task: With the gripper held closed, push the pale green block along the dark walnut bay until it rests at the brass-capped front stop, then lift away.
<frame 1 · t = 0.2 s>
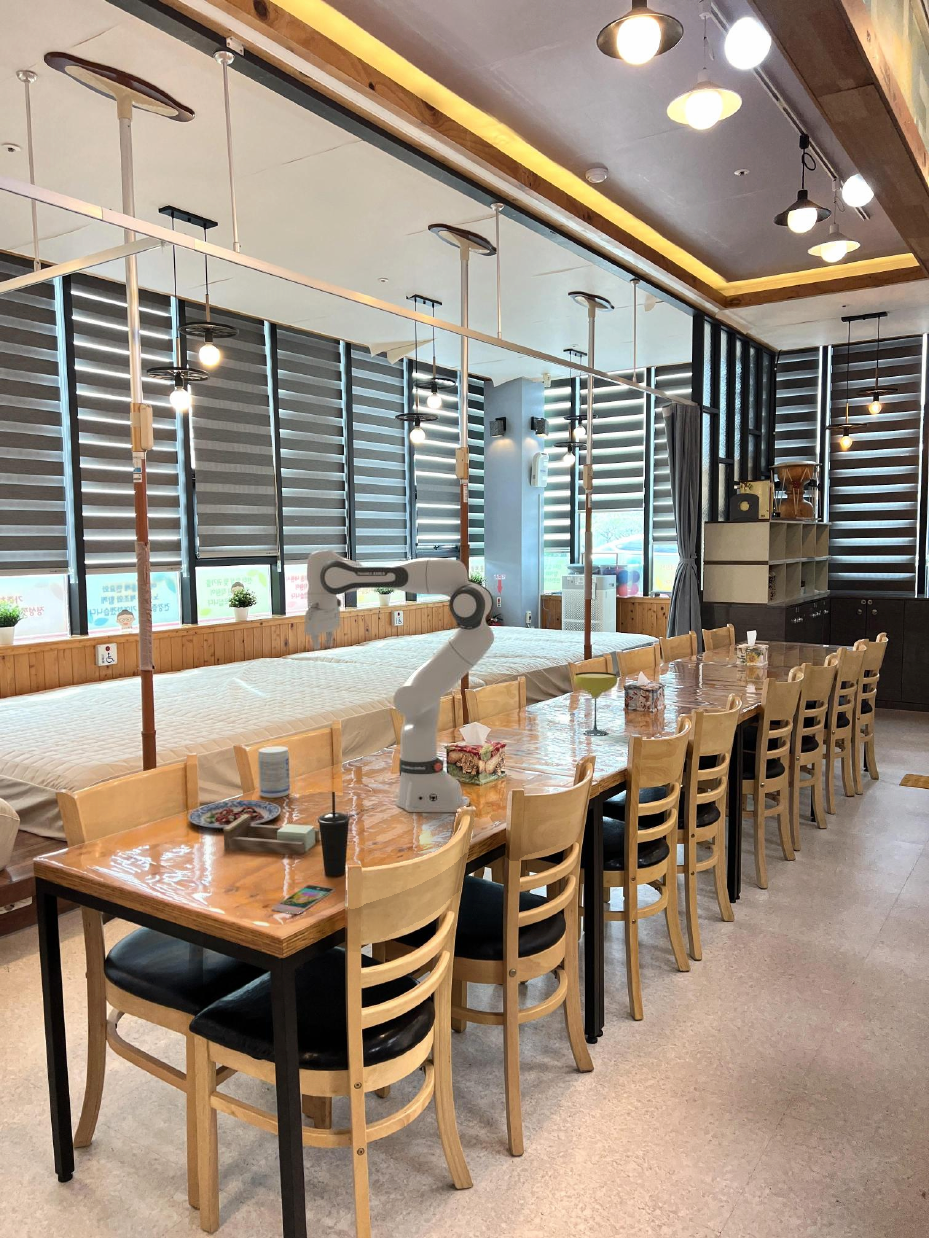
hand: (322, 647, 267), 48 cm above the table, fingers open, 8 cm apart
pale green block: (296, 847, 227), resting in bay
cocktail glass: (595, 733, 365), on the table
bay: (275, 844, 228), on the table
smartphone: (304, 902, 192), on the table
drinking cup: (334, 874, 207), on the table
supplement tub: (274, 795, 275), on the table
ceramic plate: (235, 820, 250), on the table
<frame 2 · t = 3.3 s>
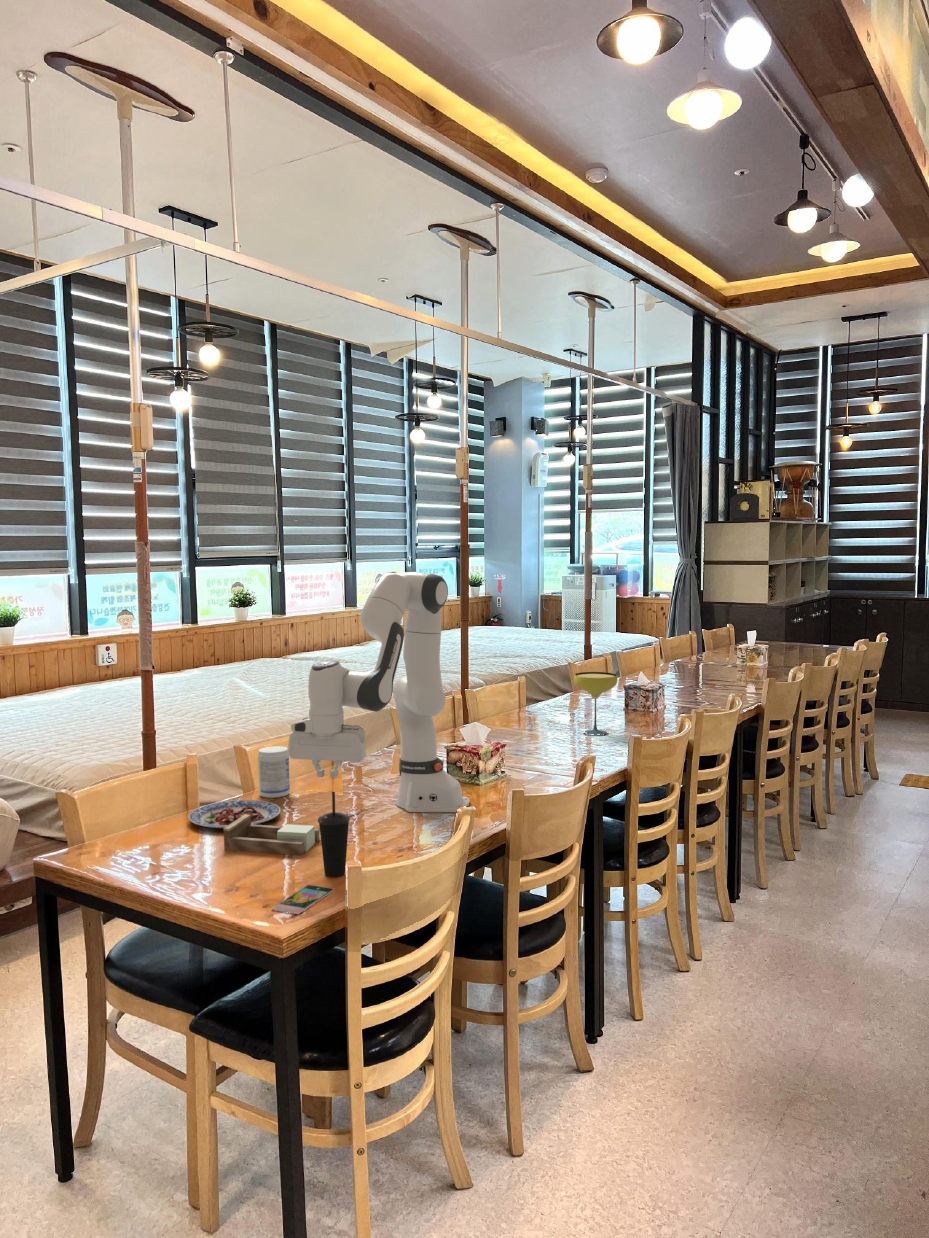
hand: (327, 776, 223), 19 cm above the table, fingers closed
nothing on the table moved.
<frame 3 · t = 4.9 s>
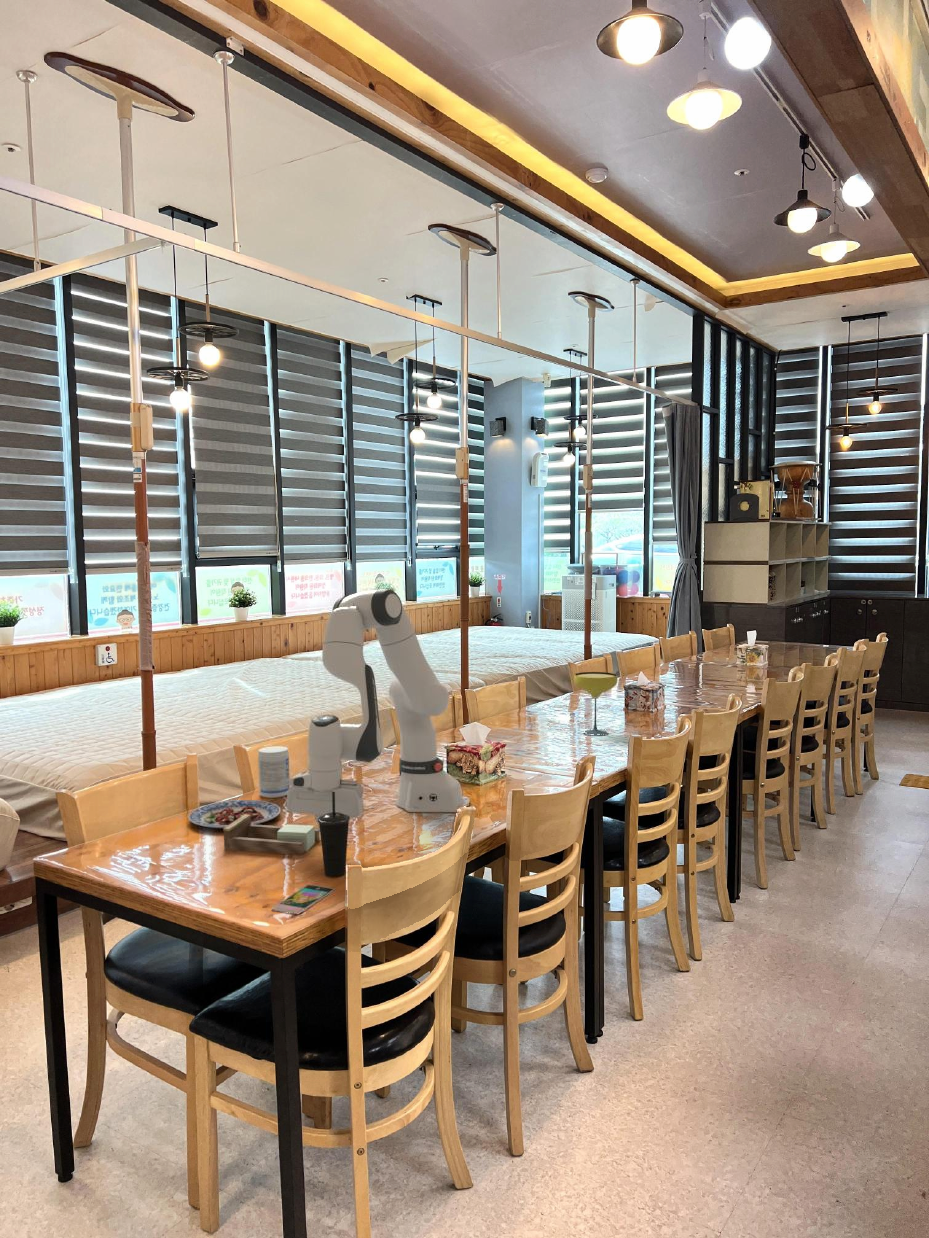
hand: (325, 831, 224), 5 cm above the table, fingers closed
nothing on the table moved.
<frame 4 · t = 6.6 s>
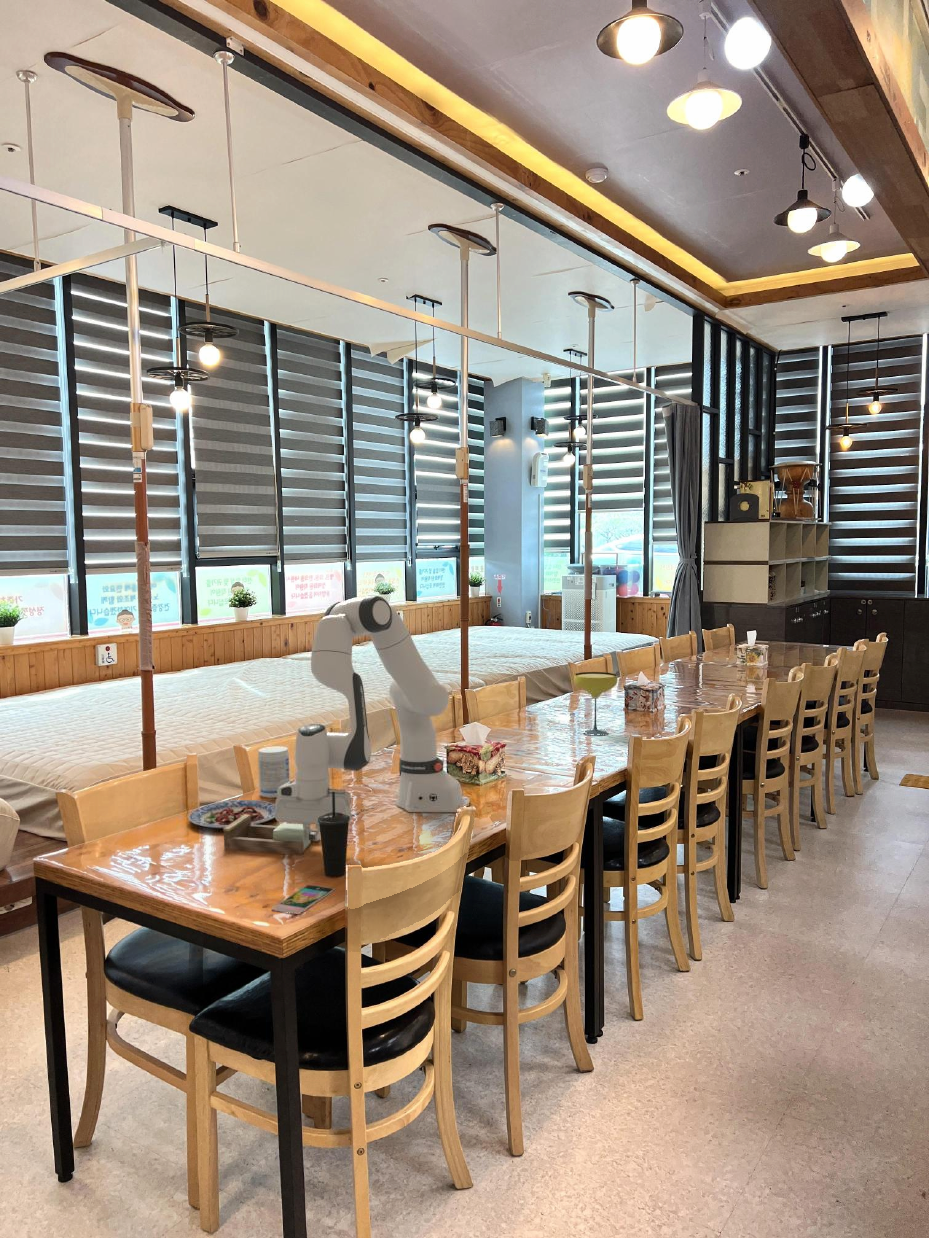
hand: (313, 839, 225), 2 cm above the table, fingers closed
pale green block: (292, 846, 227), resting in bay, touching gripper
everything else where it was.
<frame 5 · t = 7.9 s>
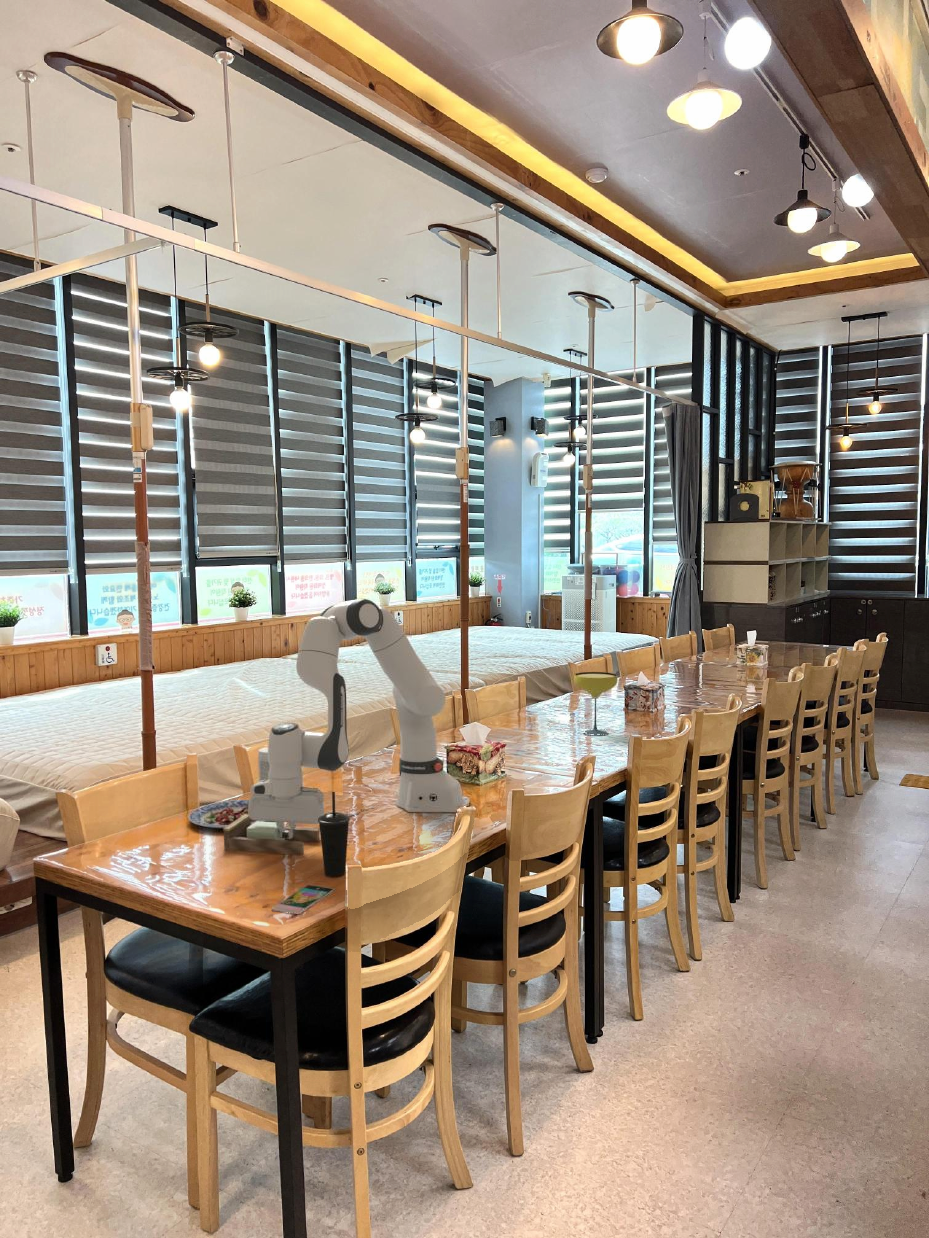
hand: (286, 837, 227), 2 cm above the table, fingers closed
pale green block: (266, 843, 228), resting in bay, touching gripper
everything else where it was.
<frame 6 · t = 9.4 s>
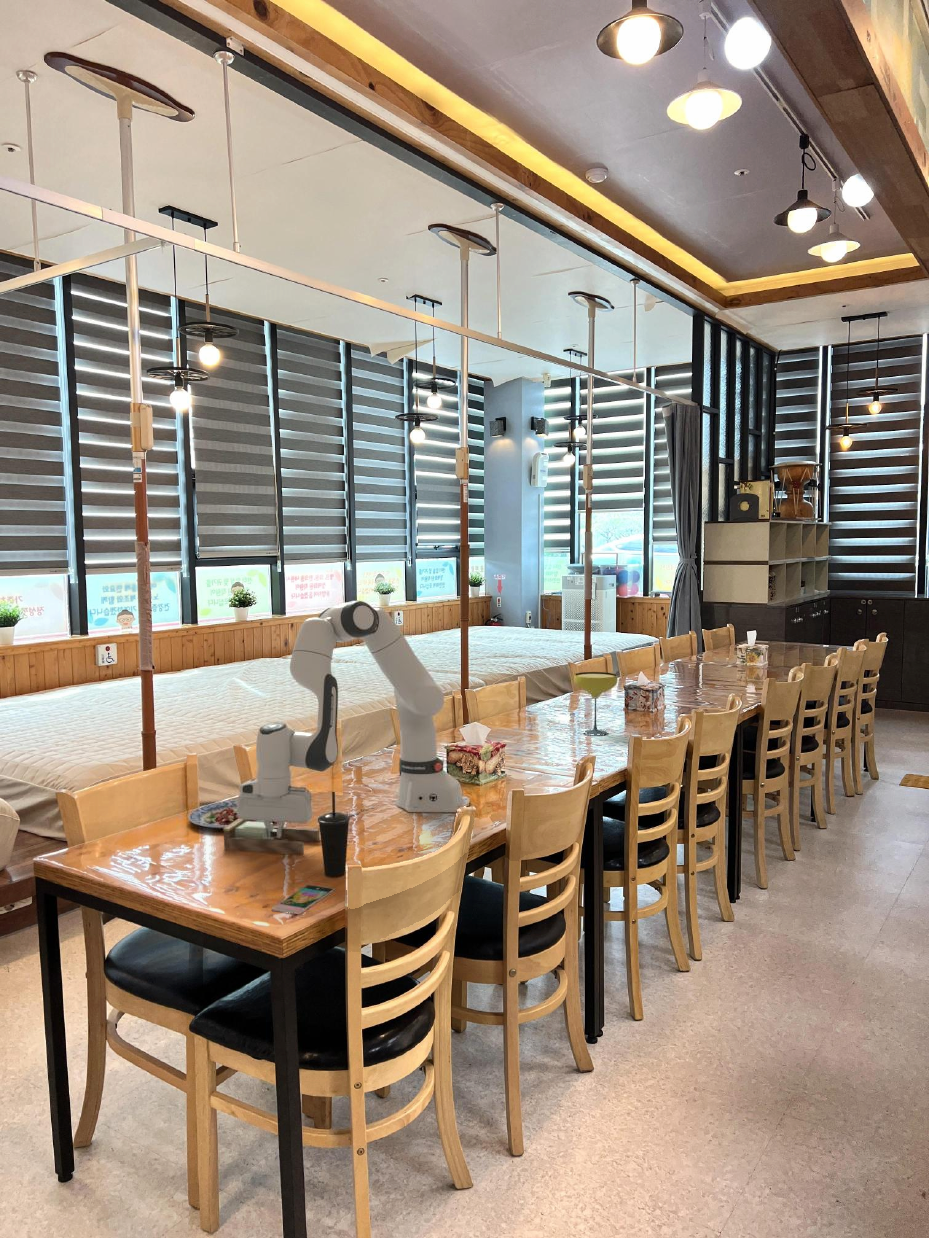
hand: (275, 836, 228), 2 cm above the table, fingers closed
pale green block: (254, 843, 229), resting in bay
everything else where it was.
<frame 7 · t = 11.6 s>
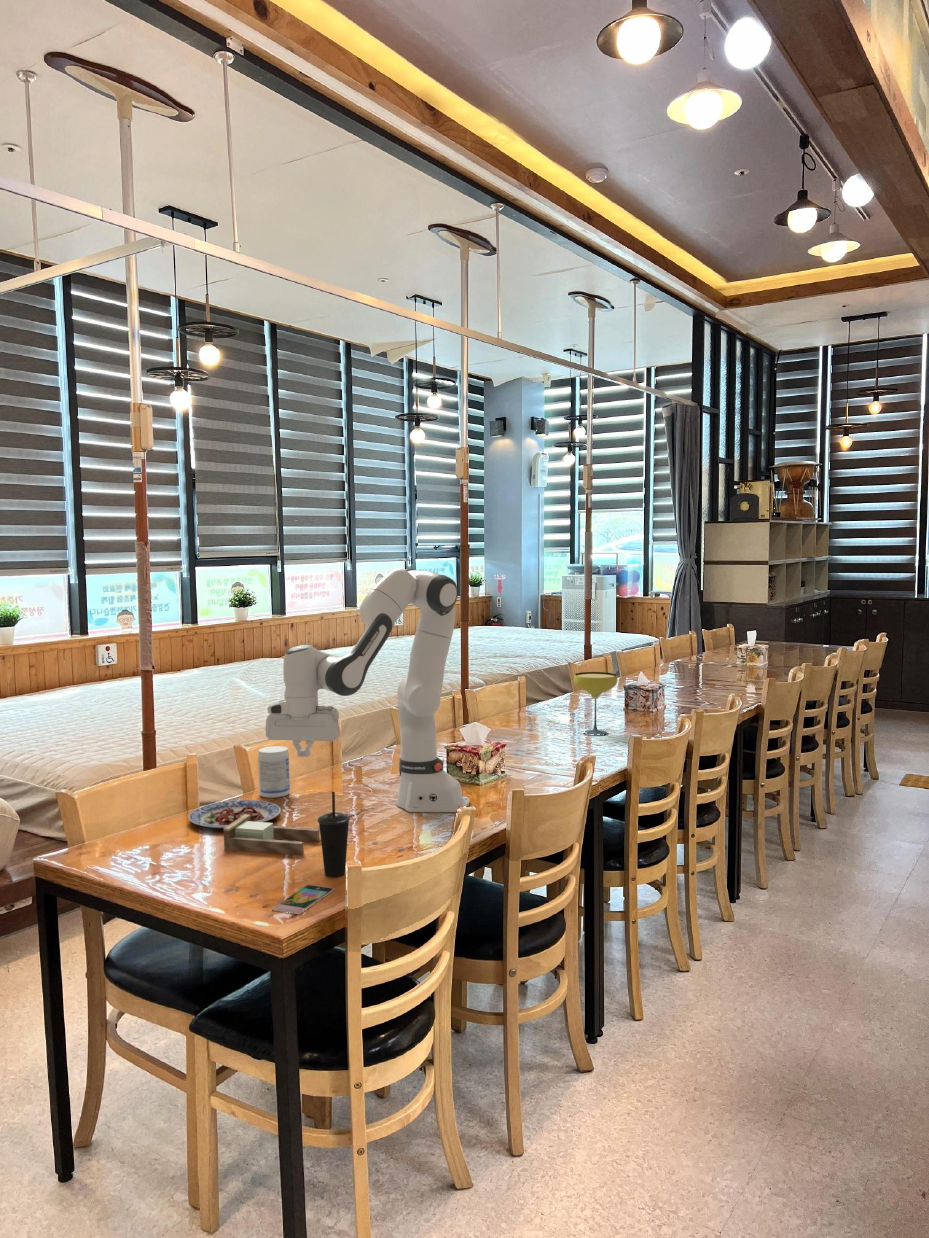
hand: (303, 756, 233), 22 cm above the table, fingers closed
nothing on the table moved.
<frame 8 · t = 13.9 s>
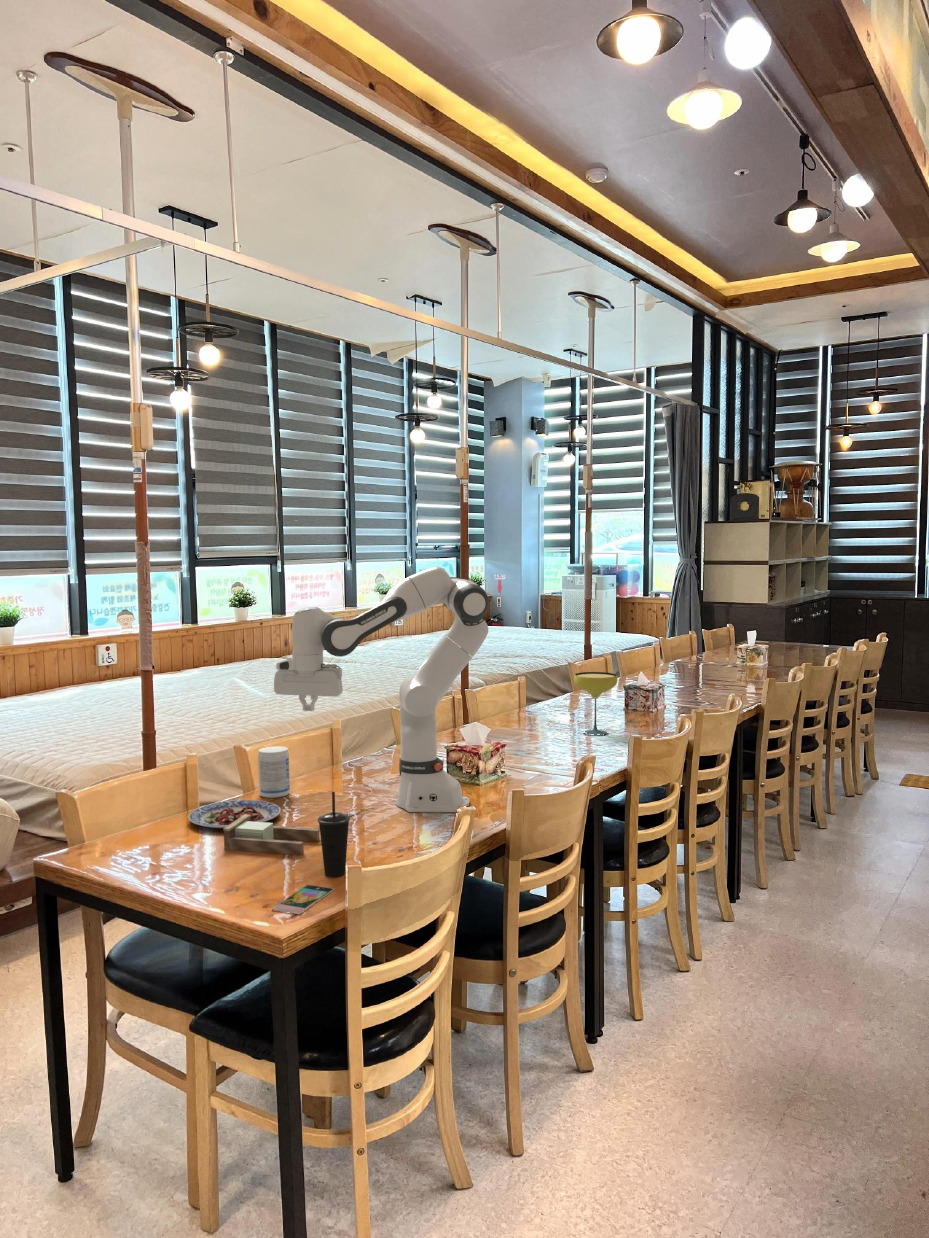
hand: (308, 710, 251), 31 cm above the table, fingers closed
nothing on the table moved.
at the end: pale green block 0.3 cm from the target spot on the bay, point 0.0 cm above the bay's base; pale green block tilted 0°; pale green block moved 12.0 cm from its start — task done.
